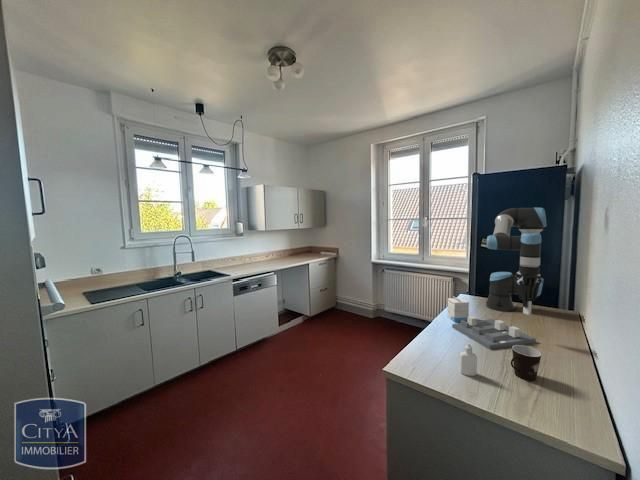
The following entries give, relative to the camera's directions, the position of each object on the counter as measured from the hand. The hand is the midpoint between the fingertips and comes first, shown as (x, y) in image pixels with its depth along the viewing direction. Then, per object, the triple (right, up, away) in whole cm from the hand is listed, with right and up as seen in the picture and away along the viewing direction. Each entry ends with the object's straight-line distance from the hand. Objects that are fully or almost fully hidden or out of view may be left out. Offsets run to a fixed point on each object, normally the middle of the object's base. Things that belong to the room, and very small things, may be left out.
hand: (526, 313), depth 125 cm
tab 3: (-6, -11, 0) cm, 12 cm away
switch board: (-13, -13, +7) cm, 19 cm away
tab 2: (-8, -10, +8) cm, 15 cm away
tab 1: (-19, -10, +13) cm, 25 cm away
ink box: (-19, -11, +27) cm, 35 cm away
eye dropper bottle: (-43, -16, -25) cm, 52 cm away
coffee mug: (-24, -16, -27) cm, 40 cm away
